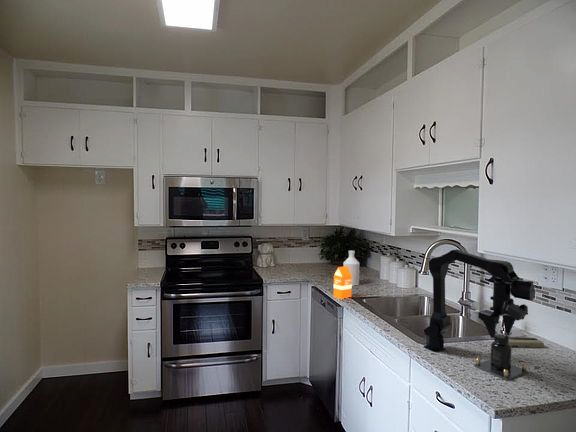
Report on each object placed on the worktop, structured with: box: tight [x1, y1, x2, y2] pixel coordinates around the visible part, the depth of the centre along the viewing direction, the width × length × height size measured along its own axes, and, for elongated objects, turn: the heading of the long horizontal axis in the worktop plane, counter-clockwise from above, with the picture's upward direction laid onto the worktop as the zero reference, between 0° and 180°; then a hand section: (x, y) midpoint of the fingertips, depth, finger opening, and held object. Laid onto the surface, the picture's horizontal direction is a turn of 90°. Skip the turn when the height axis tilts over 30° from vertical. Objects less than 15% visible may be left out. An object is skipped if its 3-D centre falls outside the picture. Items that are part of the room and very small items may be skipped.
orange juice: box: [333, 266, 353, 300], centre depth 249 cm, size 8×9×20 cm
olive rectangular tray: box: [508, 336, 545, 349], centre depth 171 cm, size 16×8×3 cm, turn 88°
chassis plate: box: [473, 357, 529, 382], centre depth 145 cm, size 13×13×3 cm
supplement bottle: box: [490, 333, 513, 371], centre depth 145 cm, size 7×7×12 cm
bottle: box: [342, 250, 361, 287], centre depth 286 cm, size 12×12×25 cm
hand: (500, 335), depth 145 cm, fingers open, 9 cm apart
